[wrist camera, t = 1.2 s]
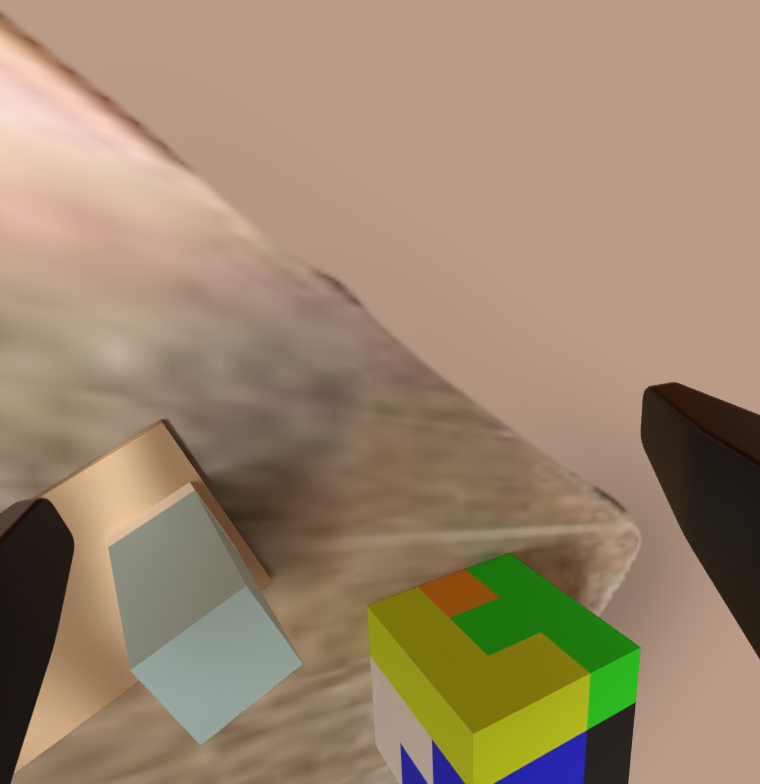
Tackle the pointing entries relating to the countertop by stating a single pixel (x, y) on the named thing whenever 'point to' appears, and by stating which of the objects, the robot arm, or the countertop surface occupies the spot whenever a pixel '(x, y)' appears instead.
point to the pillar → (195, 615)
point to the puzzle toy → (500, 682)
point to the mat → (107, 578)
